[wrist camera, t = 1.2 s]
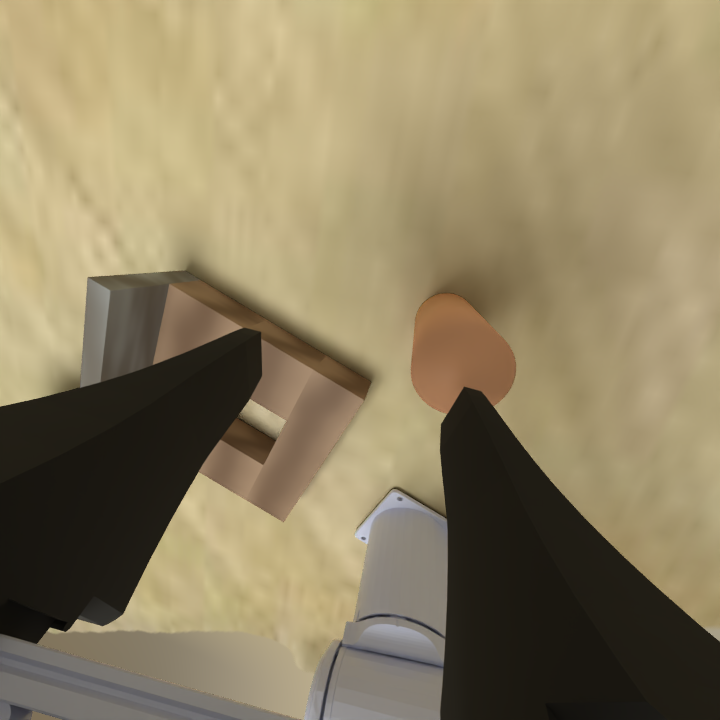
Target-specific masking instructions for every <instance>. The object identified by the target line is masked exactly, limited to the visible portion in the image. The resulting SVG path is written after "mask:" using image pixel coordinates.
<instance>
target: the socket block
mask: <svg viewBox="0 0 720 720" xmlns="http://www.w3.org/2000/svg"><path fill="white" fill-rule="evenodd" d="M244 327H245V328H249V329H252V330H256V331H260V332H261V344H262V377H261V379H260V381H259V383H258V385H257V387H256V389H255V391H254V392H253V394H252V396H251V398H250V399H251V400H253V401H255V402H256V403H258V404H260V405H261V406H263V407H265V408H266V409H268V410H270V411H271V412H273V413H275V414H276V415H278V416H280V417H281V418H283V419H285V420H286V423H285V425H284V427H283V429H282V431H281V433H280V435H279V436H278V438H277V440H276V441H275V440H273V439H272V438H270V437H268V436H266V435H265V434H263V433H261V432H260V431H258V430H256V429H255V428H253V427H251V426H250V425H248V424H246V423H245V422H243V421H241V420H240V419H238V418H236V419H235V420H234V422H233V423H232V424H231V426H230V427H229V428H228V430H227V431H226V432H225V434H224V435H223V437H222V438H221V439H220V441H219V442H218V443H217V445H216V446H215V447H214V449H213V450H212V452H211V453H210V455H209V456H208V458H207V459H206V461H205V462H204V464H203V465H202V467H201V469H200V470H199V472H200V473H202V474H203V475H205V476H207V477H208V478H210V479H212V480H213V481H215V482H217V483H218V484H220V485H222V486H223V487H225V488H227V489H229V490H230V491H232V492H234V493H235V494H237V495H239V496H240V497H242V498H244V499H245V500H247V501H249V502H250V503H252V504H254V505H256V506H257V507H259V508H261V509H262V510H264V511H266V512H267V513H269V514H271V515H272V516H274V517H276V518H277V519H279V520H281V521H282V522H284V521H285V520H286V518H287V516H288V515H289V513H290V512H291V510H292V509H293V507H294V506H295V504H296V503H297V501H298V500H299V498H300V497H301V495H302V494H303V492H304V491H305V489H306V488H307V486H308V485H309V483H310V482H311V480H312V479H313V477H314V476H315V474H316V473H317V471H318V470H319V468H320V466H321V465H322V463H323V462H324V460H325V459H326V457H327V456H328V454H329V453H330V451H331V450H332V448H333V447H334V445H335V444H336V442H337V441H338V439H339V438H340V436H341V435H342V433H343V432H344V430H345V429H346V427H347V426H348V424H349V423H350V421H351V420H352V418H353V417H354V415H355V413H356V412H357V410H358V409H359V407H360V406H361V404H362V403H363V401H364V400H365V397H366V394H367V392H368V389H369V387H370V384H371V382H370V381H369V380H367V379H365V378H364V377H362V376H360V375H359V374H357V373H355V372H354V371H352V370H350V369H349V368H347V367H345V366H343V365H342V364H340V363H338V362H337V361H335V360H333V359H332V358H330V357H328V356H327V355H325V354H323V353H322V352H320V351H318V350H317V349H315V348H313V347H312V346H310V345H308V344H307V343H305V342H303V341H302V340H300V339H298V338H297V337H295V336H293V335H292V334H290V333H288V332H287V331H285V330H283V329H282V328H280V327H278V326H277V325H275V324H273V323H272V322H270V321H268V320H267V319H265V318H263V317H262V316H260V315H258V314H256V313H255V312H253V311H251V310H250V309H248V308H246V307H245V306H243V305H241V304H240V303H238V302H236V301H235V300H233V299H231V298H230V297H228V296H226V295H225V294H223V293H221V292H220V291H218V290H216V289H215V288H213V287H211V286H210V285H208V284H206V283H205V282H203V281H201V280H200V279H198V278H196V277H195V276H193V275H191V274H190V273H188V272H186V271H172V272H158V273H143V274H128V275H114V276H99V277H88V281H87V295H86V309H85V324H84V338H83V352H82V366H81V381H80V388H81V387H85V386H89V385H92V384H96V383H99V382H103V381H106V380H109V379H113V378H116V377H119V376H122V375H126V374H129V373H132V372H135V371H138V370H140V369H143V368H146V367H149V366H151V365H154V364H157V363H159V362H162V361H164V360H167V359H170V358H172V357H175V356H177V355H180V354H183V353H185V352H187V351H190V350H192V349H194V348H197V347H199V346H201V345H204V344H206V343H208V342H211V341H213V340H215V339H218V338H220V337H222V336H224V335H227V334H229V333H231V332H234V331H236V330H239V329H241V328H244Z"/></svg>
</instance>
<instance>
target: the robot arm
mask: <svg viewBox="0 0 720 720" xmlns="http://www.w3.org/2000/svg"><path fill="white" fill-rule="evenodd" d="M261 377H262V344H261V332H260V331H256V330H252V329H249V328H245V327H244V328H241V329H239V330H236V331H234V332H231V333H229V334H227V335H224V336H222V337H220V338H218V339H215V340H213V341H211V342H208V343H206V344H204V345H201V346H199V347H197V348H194V349H192V350H190V351H187V352H185V353H183V354H180V355H177V356H175V357H172V358H170V359H167V360H164V361H162V362H159V363H157V364H154V365H151V366H149V367H146V368H143V369H140V370H138V371H135V372H132V373H129V374H126V375H122V376H119V377H116V378H113V379H109V380H106V381H103V382H99V383H96V384H92V385H89V386H85V387H81V388H77V389H73V390H69V391H65V392H61V393H57V394H54V395H50V396H46V397H42V398H38V399H33V400H29V401H24V402H20V403H15V404H11V405H6V406H1V407H0V720H31V717H32V711H35V712H39V713H42V714H45V715H49V716H52V717H56V718H59V719H63V720H301V719H297V718H293V717H290V716H287V715H283V714H280V713H276V712H273V711H269V710H266V709H262V708H259V707H255V706H252V705H248V704H245V703H241V702H238V701H234V700H231V699H227V698H224V697H220V696H217V695H213V694H210V693H206V692H203V691H199V690H196V689H192V688H189V687H185V686H182V685H178V684H175V683H172V682H168V681H164V680H161V679H158V678H154V677H150V676H147V675H144V674H140V673H136V672H133V671H130V670H126V669H122V668H119V667H116V666H112V665H108V664H105V663H102V662H98V661H95V660H91V659H88V658H84V657H81V656H77V655H74V654H70V653H67V652H63V651H59V650H56V649H53V648H49V647H46V646H42V645H39V644H37V643H38V642H39V640H40V639H41V638H42V637H43V635H44V634H45V633H46V631H47V630H48V629H49V628H50V627H51V628H54V629H58V630H61V631H65V632H66V631H67V630H69V629H70V628H71V626H72V625H73V624H74V622H75V621H76V620H77V619H79V620H83V621H86V622H90V623H93V624H97V625H100V626H104V625H107V624H109V623H110V622H112V621H114V620H115V619H117V618H118V617H120V616H121V615H123V613H124V611H125V609H126V607H127V605H128V603H129V601H130V599H131V597H132V595H133V593H134V591H135V589H136V587H137V585H138V582H139V580H140V578H141V576H142V574H143V572H144V570H145V568H146V566H147V564H148V562H149V560H150V558H151V556H152V555H153V553H154V551H155V549H156V547H157V545H158V543H159V541H160V540H161V538H162V536H163V534H164V532H165V530H166V528H167V526H168V524H169V523H170V521H171V519H172V517H173V515H174V514H175V512H176V510H177V508H178V506H179V505H180V503H181V501H182V499H183V498H184V496H185V494H186V492H187V491H188V489H189V487H190V485H191V484H192V482H193V480H194V479H195V477H196V475H197V474H198V472H199V470H200V469H201V467H202V465H203V464H204V462H205V461H206V459H207V458H208V456H209V455H210V453H211V452H212V450H213V449H214V447H215V446H216V445H217V443H218V442H219V441H220V439H221V438H222V437H223V435H224V434H225V432H226V431H227V430H228V428H229V427H230V426H231V424H232V423H233V422H234V420H235V419H236V418H237V416H238V415H239V413H240V412H241V411H242V409H243V408H244V406H245V405H246V404H247V402H248V401H249V399H250V398H251V396H252V394H253V392H254V391H255V389H256V387H257V385H258V383H259V381H260V379H261ZM440 455H441V466H442V476H443V486H444V495H445V505H446V515H447V519H446V518H444V517H443V516H441V515H439V514H438V513H436V512H434V511H433V510H431V509H429V508H428V507H426V506H424V505H423V504H421V503H419V502H418V501H416V500H414V499H412V498H411V497H409V496H407V495H406V494H404V493H402V492H401V491H399V490H397V489H393V490H391V491H390V492H389V493H388V494H387V496H386V497H385V498H384V499H383V500H382V501H381V502H380V504H379V505H378V506H377V507H376V508H375V509H374V510H373V512H372V513H371V514H370V515H369V516H368V517H367V518H366V519H365V521H364V522H363V523H362V524H361V525H360V526H359V527H358V529H357V530H356V531H355V536H356V538H358V539H359V540H361V541H363V542H364V543H366V544H367V550H366V555H365V561H364V566H363V571H362V577H361V582H360V588H359V593H358V598H357V604H356V609H355V614H354V620H353V622H348V621H347V622H346V626H345V631H344V636H343V640H341V639H334V640H333V641H332V642H331V644H330V645H329V647H328V648H327V649H326V650H325V651H324V653H323V654H322V656H321V658H320V660H319V663H318V665H317V668H316V671H315V674H314V677H313V681H312V685H311V688H310V693H309V697H308V702H307V706H306V711H305V717H304V720H720V642H719V641H718V640H717V639H716V638H714V637H713V636H712V635H711V634H710V633H708V632H707V631H706V630H705V629H704V628H702V627H701V626H700V625H699V624H698V623H697V622H696V621H694V620H693V619H692V618H691V617H690V616H689V615H687V614H686V613H685V612H684V611H683V610H682V609H681V608H680V607H678V606H677V605H676V604H675V603H674V602H673V601H672V600H670V599H669V598H668V597H667V596H666V595H665V594H664V593H663V592H661V591H660V590H659V589H658V588H657V587H656V586H655V585H654V584H652V583H651V582H650V581H649V580H648V579H647V578H646V577H645V576H644V575H643V574H642V573H640V572H639V571H638V570H637V569H636V568H635V567H634V566H633V565H632V564H631V563H630V562H629V561H628V560H627V559H626V558H624V557H623V556H622V555H621V554H620V553H619V552H618V551H617V550H616V549H615V548H614V547H613V546H612V545H611V544H610V543H609V542H608V541H607V540H606V539H605V538H604V537H603V536H602V535H601V534H600V533H599V532H598V531H597V530H596V529H595V528H594V527H593V526H592V525H591V524H590V523H589V522H588V521H587V520H586V519H585V518H584V517H583V516H582V515H581V514H580V513H579V512H578V510H577V509H576V508H575V507H574V506H573V505H572V504H571V503H570V502H569V501H568V500H567V499H566V498H565V496H564V495H563V494H562V493H561V492H560V491H559V490H558V489H557V488H556V486H555V485H554V484H553V483H552V482H551V481H550V479H549V478H548V477H547V476H546V475H545V473H544V472H543V471H542V470H541V469H540V467H539V466H538V465H537V464H536V463H535V461H534V460H533V459H532V458H531V456H530V455H529V454H528V452H527V451H526V450H525V449H524V447H523V446H522V445H521V443H520V442H519V441H518V439H517V438H516V437H515V435H514V434H513V433H512V431H511V430H510V429H509V427H508V426H507V425H506V423H505V422H504V421H503V419H502V418H501V416H500V415H499V414H498V412H497V411H496V410H495V408H494V407H493V405H492V404H491V403H490V401H489V400H488V399H487V397H486V396H485V395H484V394H483V392H482V391H479V390H475V389H472V388H468V387H463V389H462V391H461V392H460V394H459V396H458V397H457V399H456V401H455V402H454V404H453V406H452V407H451V409H450V410H449V412H448V414H447V415H446V417H445V419H444V420H443V422H442V424H441V437H440ZM399 497H402V498H399Z"/></svg>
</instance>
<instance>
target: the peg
mask: <svg viewBox="0 0 720 720" xmlns="http://www.w3.org/2000/svg"><path fill="white" fill-rule="evenodd" d="M515 373H516V362H515V357H514V354H513V352H512V350H511V348H510V346H509V345H508V343H507V342H506V341H505V340H504V339H503V338H502V337H501V336H500V335H499V334H498V333H497V332H496V330H495V329H494V328H493V327H492V326H491V325H490V324H489V323H488V322H487V321H486V320H485V319H484V318H483V317H482V316H481V315H480V314H479V313H478V312H477V311H476V310H475V309H474V308H473V307H472V306H471V305H470V304H469V303H468V302H467V301H466V300H465V299H464V298H462V297H460V296H458V295H455V294H451V293H442V294H438V295H435V296H432V297H431V298H429V299H427V300H426V301H425V302H424V303H423V304H422V305H421V307H420V308H419V310H418V312H417V315H416V319H415V330H414V341H413V352H412V363H411V378H412V382H413V386H414V388H415V390H416V392H417V393H418V395H419V396H420V397H421V399H422V400H423V401H424V402H426V403H427V404H428V405H429V406H431V407H432V408H434V409H436V410H438V411H441V412H443V413H447V414H448V412H449V410H450V409H451V407H452V406H453V404H454V402H455V401H456V399H457V397H458V396H459V394H460V392H461V391H462V389H463V387H468V388H472V389H475V390H479V391H482V392H483V394H484V395H485V396H486V397H487V399H488V400H489V401H490V403H491V404H492V405H493V406H494V405H496V404H497V403H498V402H500V401H501V400H502V399H503V398H504V397H505V395H506V394H507V393H508V391H509V390H510V388H511V386H512V384H513V382H514V378H515Z"/></svg>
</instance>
